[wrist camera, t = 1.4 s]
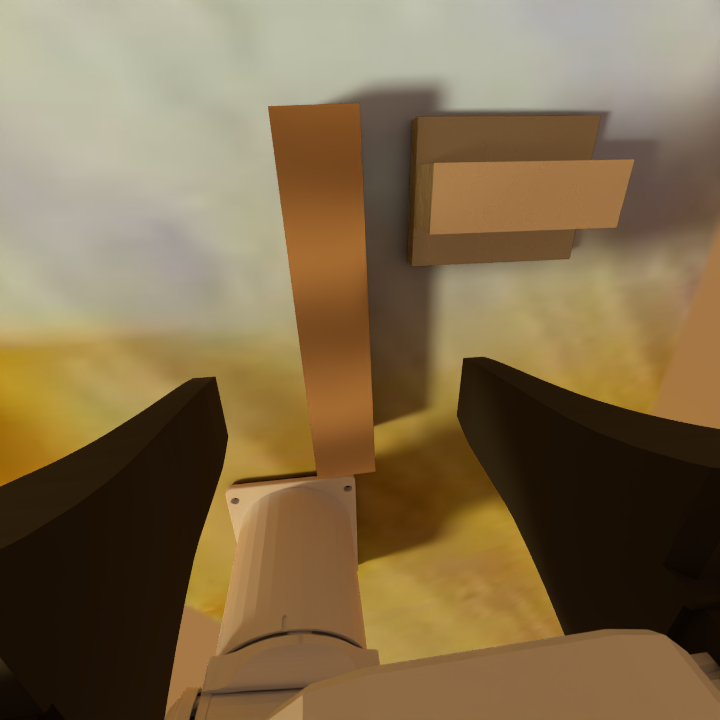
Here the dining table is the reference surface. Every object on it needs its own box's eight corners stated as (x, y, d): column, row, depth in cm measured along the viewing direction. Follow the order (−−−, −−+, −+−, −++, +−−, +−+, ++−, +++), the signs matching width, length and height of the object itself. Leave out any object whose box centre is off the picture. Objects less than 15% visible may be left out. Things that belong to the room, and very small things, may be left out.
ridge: (557, 255, 19) (605, 269, 16) (406, 262, 19) (427, 278, 15) (585, 119, 17) (648, 105, 14) (412, 120, 16) (437, 105, 13)
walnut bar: (364, 426, 23) (375, 471, 19) (315, 432, 23) (317, 479, 19) (347, 120, 16) (359, 103, 12) (276, 123, 16) (268, 106, 12)
